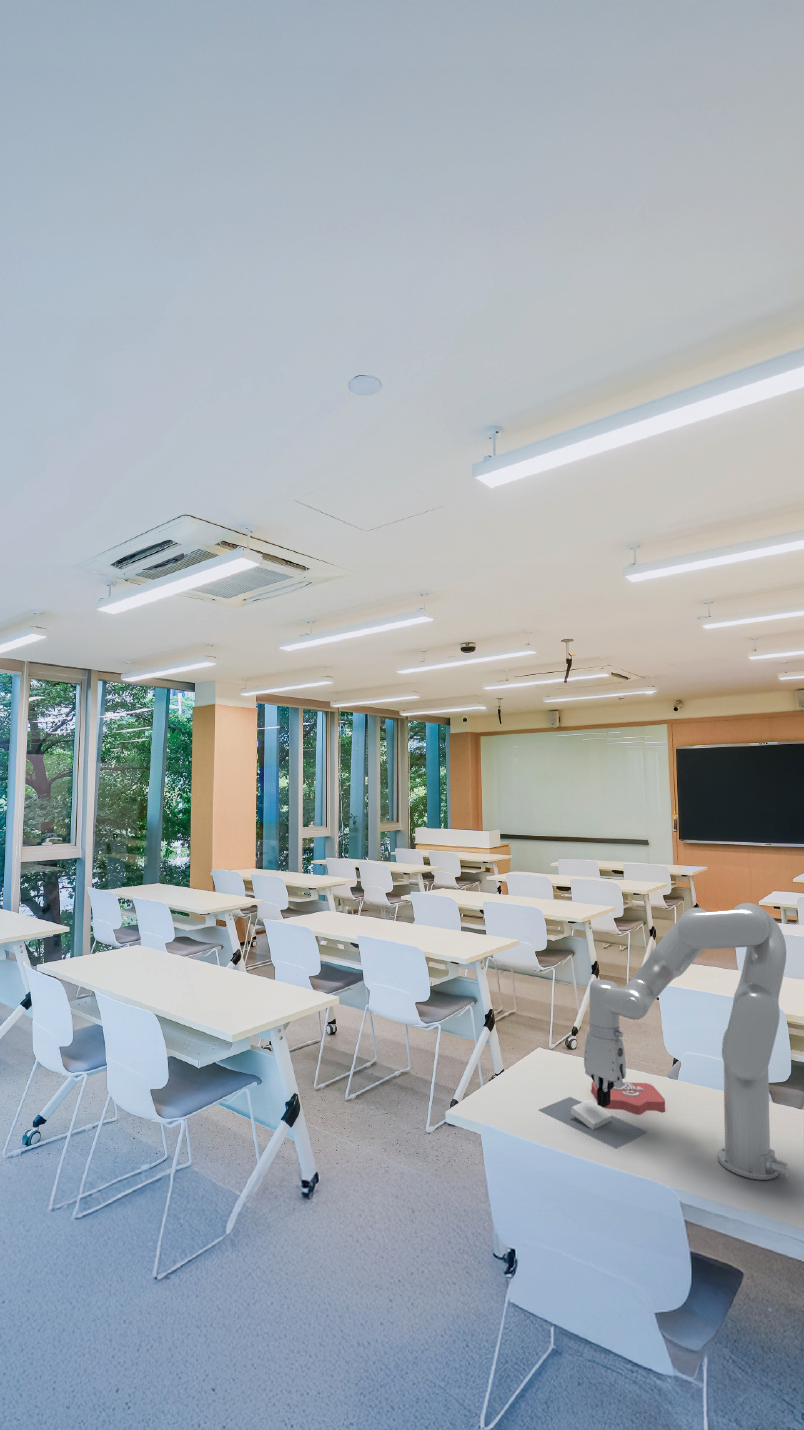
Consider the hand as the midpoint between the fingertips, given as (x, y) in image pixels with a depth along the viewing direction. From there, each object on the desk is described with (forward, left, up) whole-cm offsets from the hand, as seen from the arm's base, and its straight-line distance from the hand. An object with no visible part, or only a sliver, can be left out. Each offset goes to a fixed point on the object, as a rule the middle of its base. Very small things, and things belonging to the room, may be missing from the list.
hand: (603, 1104), depth 173 cm
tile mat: (+4, 0, -6) cm, 7 cm away
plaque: (+4, -18, -7) cm, 20 cm away
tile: (0, 0, -4) cm, 4 cm away
